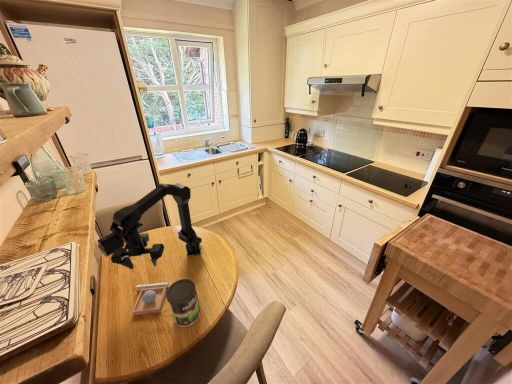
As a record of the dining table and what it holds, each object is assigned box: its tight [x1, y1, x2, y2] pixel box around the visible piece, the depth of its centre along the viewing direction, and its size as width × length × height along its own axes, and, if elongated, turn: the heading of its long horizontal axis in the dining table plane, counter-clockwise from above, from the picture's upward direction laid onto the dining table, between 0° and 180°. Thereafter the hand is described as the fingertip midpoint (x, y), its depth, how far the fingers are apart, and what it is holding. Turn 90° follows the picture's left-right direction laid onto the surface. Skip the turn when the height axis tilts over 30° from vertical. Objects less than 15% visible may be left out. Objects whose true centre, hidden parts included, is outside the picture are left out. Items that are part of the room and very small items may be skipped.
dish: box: [131, 287, 168, 316], centre depth 88 cm, size 10×10×2 cm
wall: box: [135, 281, 169, 292], centre depth 93 cm, size 13×1×2 cm, turn 97°
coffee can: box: [165, 278, 201, 328], centre depth 80 cm, size 10×10×14 cm
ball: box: [142, 290, 156, 304], centre depth 87 cm, size 5×5×5 cm
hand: (144, 267), depth 90 cm, fingers open, 9 cm apart
